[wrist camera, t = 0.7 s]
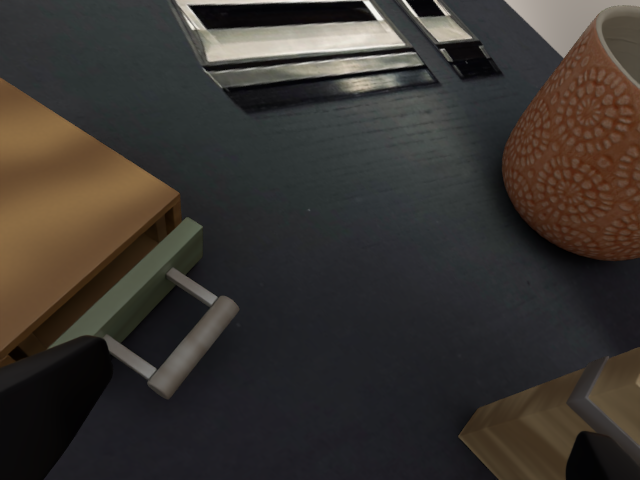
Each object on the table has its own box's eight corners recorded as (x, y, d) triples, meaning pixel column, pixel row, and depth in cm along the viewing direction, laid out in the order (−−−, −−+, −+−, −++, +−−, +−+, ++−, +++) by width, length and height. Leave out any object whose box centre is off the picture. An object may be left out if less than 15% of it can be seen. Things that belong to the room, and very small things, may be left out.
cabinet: (183, 240, 30) (180, 193, 25) (28, 391, 23) (-13, 362, 18) (27, 137, 31) (-1, 76, 27) (-163, 250, 24) (-244, 191, 20)
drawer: (260, 294, 28) (267, 268, 25) (136, 454, 22) (126, 444, 19) (50, 156, 30) (33, 116, 27) (-120, 265, 24) (-167, 229, 21)
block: (507, 491, 26) (736, 475, 15) (455, 436, 27) (632, 383, 16) (527, 456, 27) (749, 418, 16) (477, 405, 28) (653, 337, 17)
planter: (661, 233, 43) (849, 120, 30) (587, 320, 34) (805, 212, 22) (534, 125, 48) (650, -10, 36) (443, 178, 40) (553, 26, 27)
